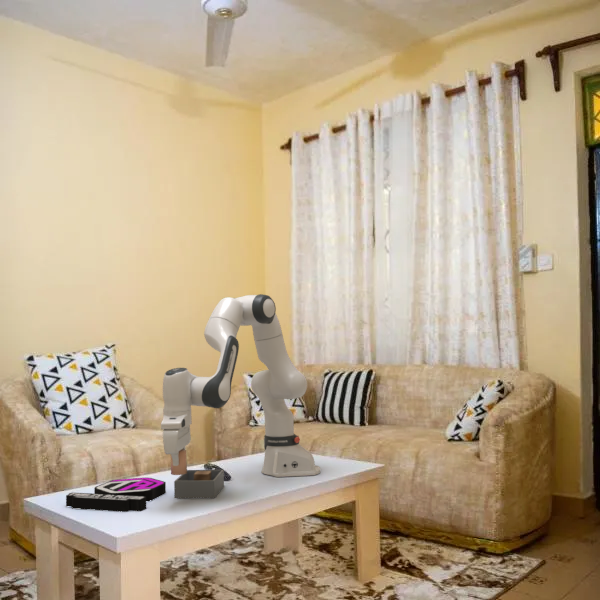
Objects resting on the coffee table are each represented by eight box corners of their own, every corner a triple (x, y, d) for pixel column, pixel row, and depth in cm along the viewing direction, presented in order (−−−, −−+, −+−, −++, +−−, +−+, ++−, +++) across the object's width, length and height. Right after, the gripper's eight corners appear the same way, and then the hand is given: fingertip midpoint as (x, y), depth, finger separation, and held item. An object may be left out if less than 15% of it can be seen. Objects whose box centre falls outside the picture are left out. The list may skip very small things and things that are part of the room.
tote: (223, 485, 225) (223, 469, 225) (214, 498, 208) (214, 480, 208) (186, 486, 226) (186, 469, 226) (174, 498, 209) (174, 481, 209)
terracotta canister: (188, 471, 206) (188, 449, 206) (184, 474, 201) (184, 452, 201) (173, 471, 206) (172, 449, 207) (169, 475, 201) (168, 452, 202)
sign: (138, 514, 193) (182, 490, 222) (138, 501, 193) (182, 479, 222) (60, 509, 200) (113, 486, 229) (60, 496, 200) (113, 476, 229)
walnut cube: (211, 485, 223) (211, 471, 224) (208, 488, 218) (208, 474, 219) (197, 485, 224) (197, 471, 224) (193, 489, 219) (193, 474, 219)
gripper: (175, 415, 215) (177, 456, 214) (159, 424, 195) (160, 470, 194) (194, 414, 215) (195, 456, 214) (179, 424, 194) (180, 470, 194)
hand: (178, 463), depth 204 cm, fingers closed on terracotta canister, 5 cm apart
